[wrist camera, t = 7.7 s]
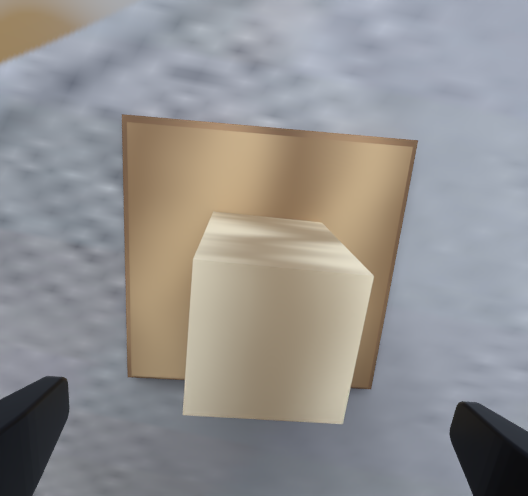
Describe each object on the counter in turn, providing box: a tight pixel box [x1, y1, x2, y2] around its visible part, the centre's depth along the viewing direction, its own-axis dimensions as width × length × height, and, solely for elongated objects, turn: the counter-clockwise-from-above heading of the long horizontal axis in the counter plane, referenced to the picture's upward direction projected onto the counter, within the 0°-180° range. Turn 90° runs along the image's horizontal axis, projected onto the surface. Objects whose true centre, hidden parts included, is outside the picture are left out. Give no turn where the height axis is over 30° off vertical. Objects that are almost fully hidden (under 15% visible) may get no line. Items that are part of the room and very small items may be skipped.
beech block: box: [183, 211, 374, 424], centre depth 14 cm, size 5×5×7 cm
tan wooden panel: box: [122, 114, 418, 389], centre depth 18 cm, size 13×13×2 cm
